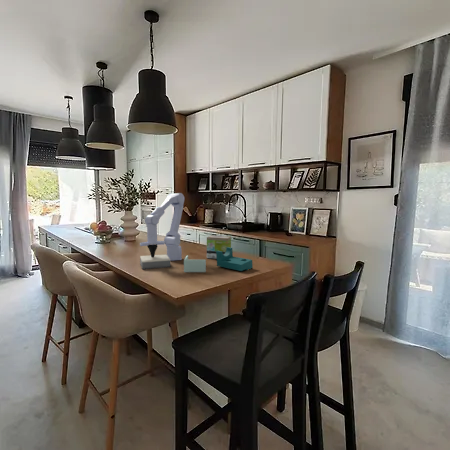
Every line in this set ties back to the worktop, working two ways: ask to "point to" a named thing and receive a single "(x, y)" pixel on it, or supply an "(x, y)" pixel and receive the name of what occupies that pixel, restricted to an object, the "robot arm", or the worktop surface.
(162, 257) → the lid
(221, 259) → the teal stepped block
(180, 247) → the robot arm
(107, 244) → the worktop surface
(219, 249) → the tea box
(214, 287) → the worktop surface
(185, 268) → the l-shaped corner panel
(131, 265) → the worktop surface
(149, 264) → the storage box
